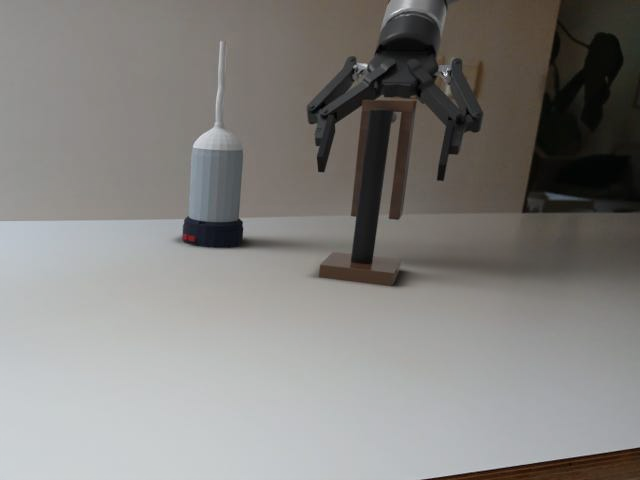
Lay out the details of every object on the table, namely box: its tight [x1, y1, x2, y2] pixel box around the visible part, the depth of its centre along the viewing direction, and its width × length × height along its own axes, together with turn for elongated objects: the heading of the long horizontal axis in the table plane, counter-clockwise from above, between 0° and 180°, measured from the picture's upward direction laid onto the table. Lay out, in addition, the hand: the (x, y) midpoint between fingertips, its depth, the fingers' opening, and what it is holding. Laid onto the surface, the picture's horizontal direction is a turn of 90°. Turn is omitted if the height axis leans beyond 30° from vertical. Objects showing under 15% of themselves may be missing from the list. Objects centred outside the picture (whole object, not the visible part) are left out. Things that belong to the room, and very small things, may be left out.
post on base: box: [318, 109, 402, 287], centre depth 85 cm, size 8×14×18 cm, turn 157°
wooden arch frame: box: [350, 99, 418, 221], centre depth 87 cm, size 6×4×13 cm
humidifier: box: [182, 40, 244, 249], centre depth 96 cm, size 8×8×25 cm
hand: (379, 169), depth 86 cm, fingers open, 13 cm apart
